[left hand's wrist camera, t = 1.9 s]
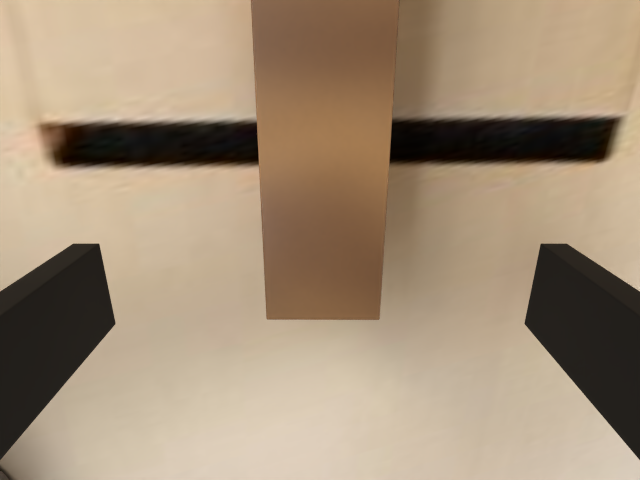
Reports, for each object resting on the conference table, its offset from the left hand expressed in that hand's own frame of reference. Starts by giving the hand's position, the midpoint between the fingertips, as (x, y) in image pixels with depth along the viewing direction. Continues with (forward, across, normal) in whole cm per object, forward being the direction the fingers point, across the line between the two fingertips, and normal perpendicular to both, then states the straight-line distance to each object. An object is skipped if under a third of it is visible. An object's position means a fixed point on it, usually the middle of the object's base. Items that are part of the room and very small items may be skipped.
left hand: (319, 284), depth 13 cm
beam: (+12, 0, -35) cm, 37 cm away
